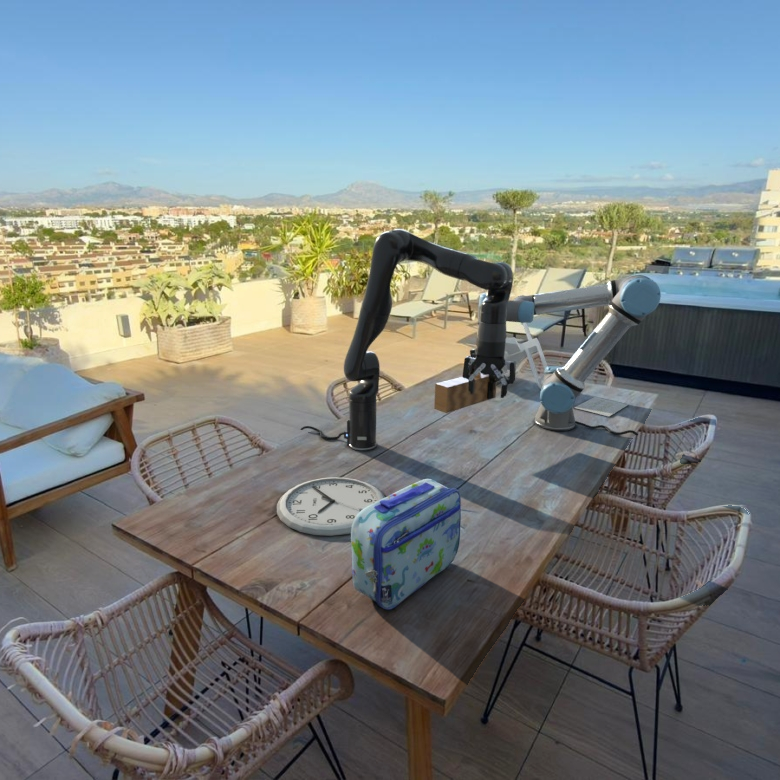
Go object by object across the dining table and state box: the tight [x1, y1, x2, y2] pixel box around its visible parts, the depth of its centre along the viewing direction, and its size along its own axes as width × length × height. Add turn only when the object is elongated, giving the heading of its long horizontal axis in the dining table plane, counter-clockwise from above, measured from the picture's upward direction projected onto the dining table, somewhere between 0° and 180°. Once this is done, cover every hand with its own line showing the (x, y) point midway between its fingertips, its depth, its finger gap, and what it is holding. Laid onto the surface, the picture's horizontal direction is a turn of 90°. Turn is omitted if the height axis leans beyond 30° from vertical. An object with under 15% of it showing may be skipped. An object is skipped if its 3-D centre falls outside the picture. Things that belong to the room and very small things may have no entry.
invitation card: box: [573, 396, 629, 418], centre depth 226 cm, size 21×1×15 cm
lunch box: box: [350, 478, 462, 611], centre depth 110 cm, size 26×11×21 cm, turn 135°
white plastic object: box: [502, 323, 549, 390], centre depth 259 cm, size 37×45×31 cm
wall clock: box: [276, 476, 386, 537], centre depth 142 cm, size 30×2×30 cm
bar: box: [433, 372, 498, 414], centre depth 190 cm, size 27×6×9 cm, turn 131°
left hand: (487, 395), depth 146 cm, fingers open, 8 cm apart
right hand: (483, 396), depth 198 cm, fingers closed on bar, 6 cm apart
